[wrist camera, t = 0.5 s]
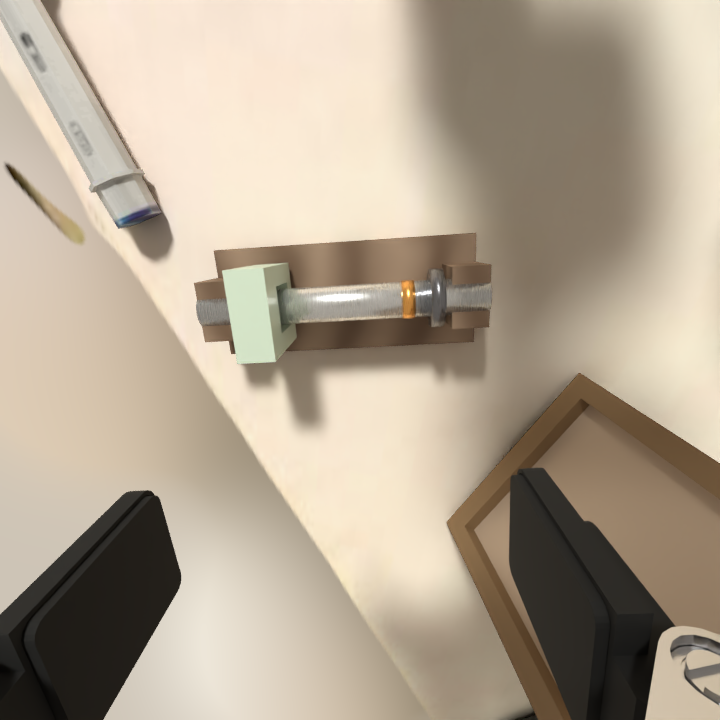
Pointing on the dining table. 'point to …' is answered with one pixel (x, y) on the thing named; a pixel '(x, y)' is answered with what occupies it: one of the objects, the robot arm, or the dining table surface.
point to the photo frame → (601, 519)
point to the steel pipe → (367, 302)
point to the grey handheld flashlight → (78, 113)
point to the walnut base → (363, 267)
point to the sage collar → (258, 312)
